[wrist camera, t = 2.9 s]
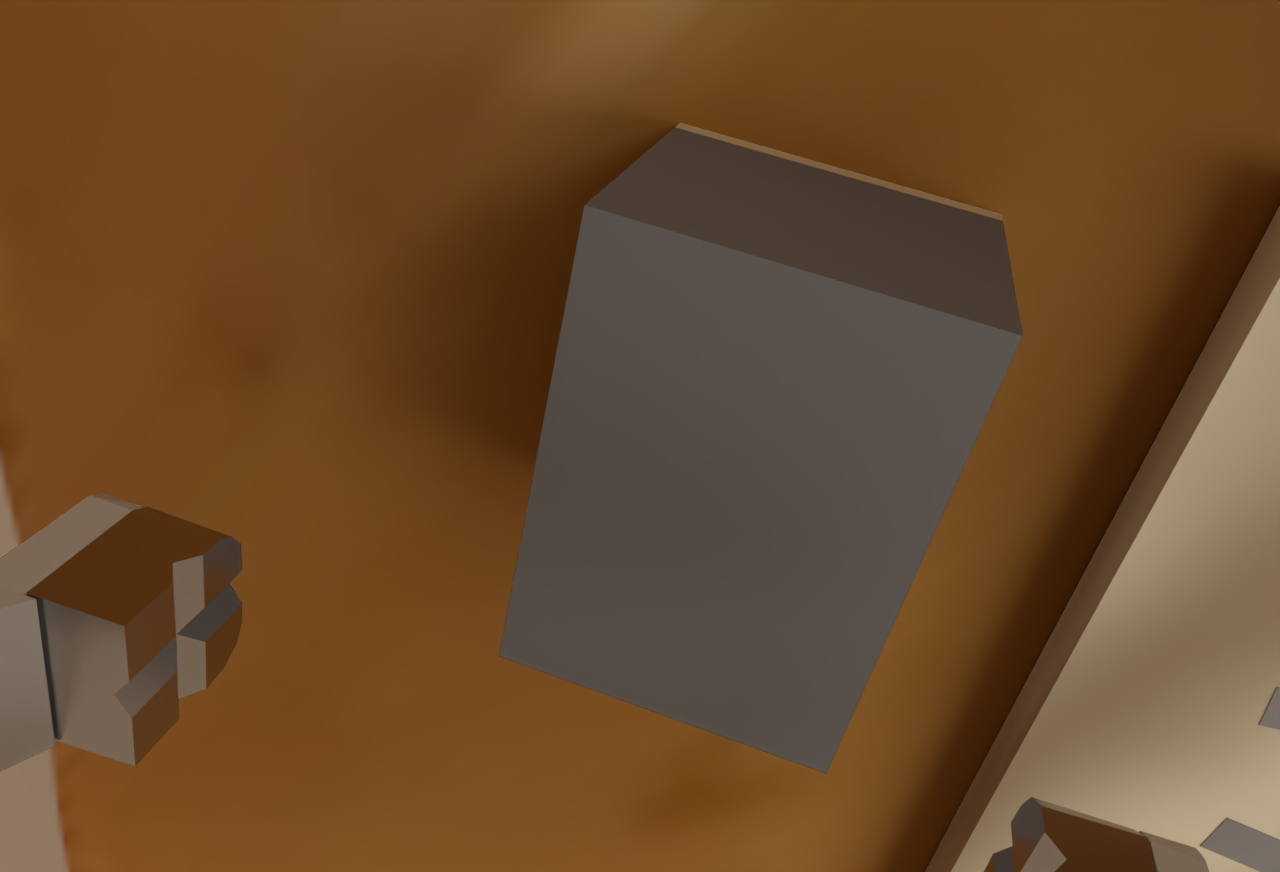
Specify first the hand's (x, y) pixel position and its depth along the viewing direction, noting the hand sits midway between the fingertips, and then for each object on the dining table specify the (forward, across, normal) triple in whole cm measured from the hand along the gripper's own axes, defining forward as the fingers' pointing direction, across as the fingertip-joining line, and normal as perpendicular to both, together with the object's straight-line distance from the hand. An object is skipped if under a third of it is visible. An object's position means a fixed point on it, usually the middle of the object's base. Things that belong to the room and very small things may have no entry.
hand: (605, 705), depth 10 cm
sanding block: (+8, -1, 0) cm, 8 cm away
